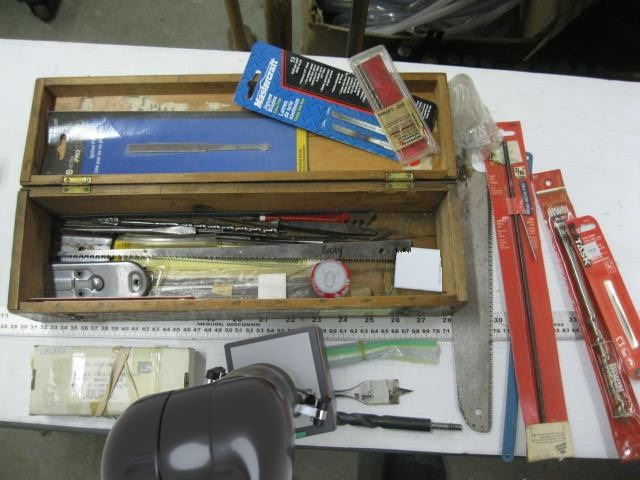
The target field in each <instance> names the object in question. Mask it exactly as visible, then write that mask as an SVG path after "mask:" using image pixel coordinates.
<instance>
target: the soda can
mask: <svg viewBox="0 0 640 480" xmlns="http://www.w3.org/2000/svg"><path fill="white" fill-rule="evenodd" d="M310 284H311V287H312V290H313V291H314V293H315V294H316V296H317V297H318V298H319V297H320V298H319V299H321V298H337V297H343V298H344V297H345V296H346V294H347V293H348V290H349V288H350V284H351V274H350V271H349V269H348V267H347V265H345V264H344V263H343V262H342V261H340V260H338V259H335V258H326V259H323V260H321V261H319V262H318V263H317V264H315V266H314V267H313V269H312V271H311V274H310Z"/></svg>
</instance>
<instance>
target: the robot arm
mask: <svg viewBox="0 0 640 480" xmlns="http://www.w3.org/2000/svg"><path fill="white" fill-rule="evenodd" d="M226 371H227V369H226V368H224V366H221V365H220V366H214V367H212V368H208V369H207V370H206V372H205V376H204V380H203V383H202V384H198V385H193V386H187V387H182V388H177V389H171V390H165V391H160V392H156V393H155V392H154V393H149V394H147V395H144V396H142V397H140V398H138V399H136V400H134V401H133V402H132V403H131V404H129V405H128V406H127V407H126V408H125V409H124V410H123V411H122V412H121V413H120V415H119V416H118V417H117V419H116V420H115V422H114V423H113V425H112V426H111V428H110V430H109V432H108V434H107V436H106V439H105V441H104V445H103V449H102V453H101V458H100V479H101V480H292V478H293V471H294V462H295V453H296V440H297V439H296V433H295V421H294V419H299V418H300V417H301V415H308V416H311V418H310V422H313V425H315V426H316V427H318V428H320V427H324V425H325V423H326V421H327V418H328V412H329V408H330V404H331V401H332V398H330V397H329V396H326V395H325V396H322V397H321V398H320V399H319V398H317V393H315V392H314V391H313V390H312V389H309V388H307V389H306V388H303V387H301V386H298V385H294V383H293V381H292V379H291V378H290V376H289V375H288V374H287V373H286V372H285V371H284V370H282V369H281V368H279V367H277V366H275V365H272V364H269V363H256V364H252V365H248V366H245V367H241V368H238V369H236V370H234V371H233V370H232V371H231V372H230V373H228V372H226Z"/></svg>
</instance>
